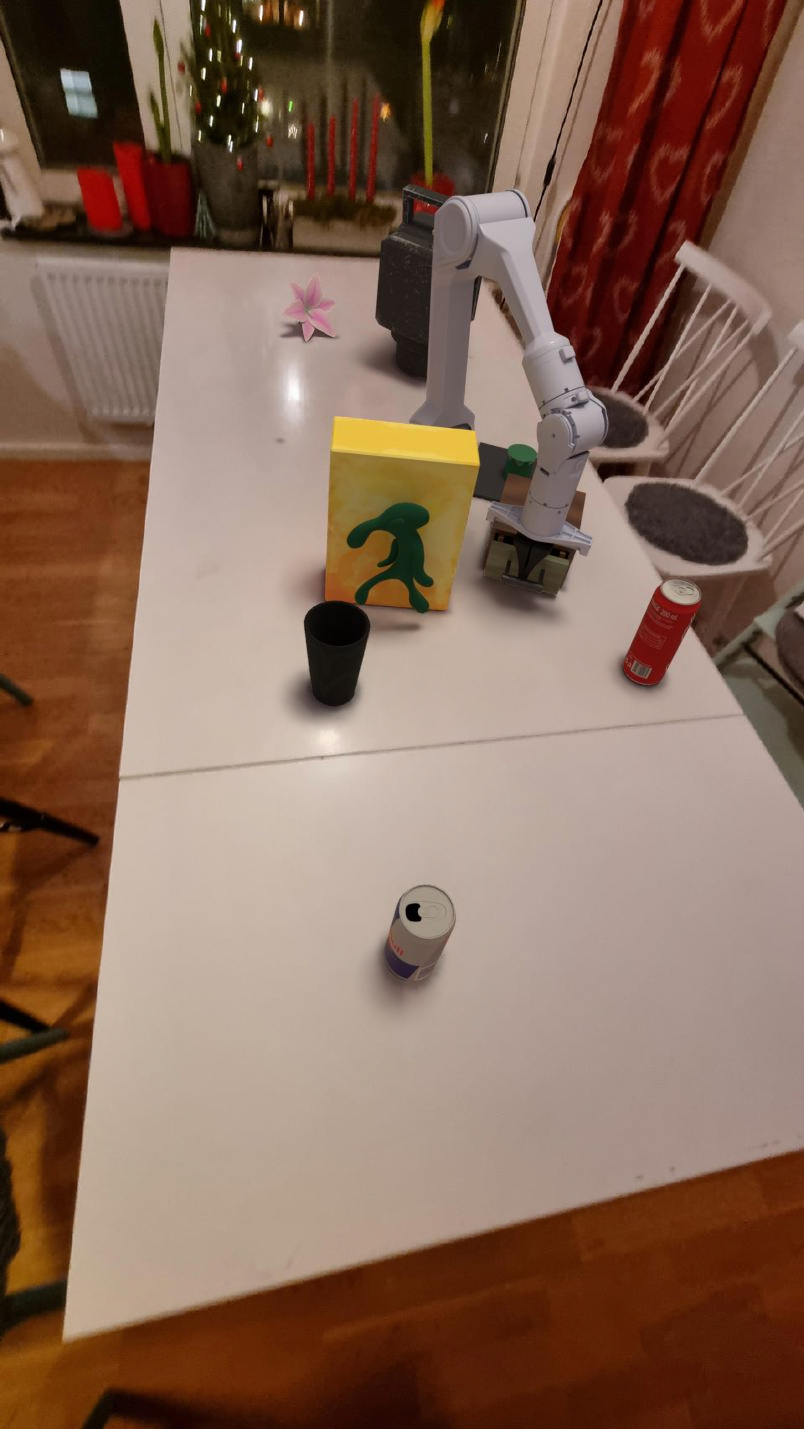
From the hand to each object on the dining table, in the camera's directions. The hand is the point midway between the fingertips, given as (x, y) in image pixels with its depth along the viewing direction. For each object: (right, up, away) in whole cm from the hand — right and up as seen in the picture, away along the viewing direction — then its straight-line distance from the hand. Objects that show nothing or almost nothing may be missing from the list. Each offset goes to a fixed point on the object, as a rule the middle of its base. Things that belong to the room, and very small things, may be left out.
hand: (523, 574), depth 100 cm
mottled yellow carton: (-20, -4, 0) cm, 20 cm away
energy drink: (-17, -44, -30) cm, 56 cm away
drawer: (+1, +3, +7) cm, 7 cm away
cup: (-26, -17, -11) cm, 33 cm away
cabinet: (+3, +6, +11) cm, 13 cm away
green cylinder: (+2, +22, +22) cm, 31 cm away
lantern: (-14, +51, +43) cm, 68 cm away
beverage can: (+16, -14, -3) cm, 21 cm away
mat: (+2, +21, +22) cm, 31 cm away
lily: (-37, +60, +46) cm, 84 cm away
